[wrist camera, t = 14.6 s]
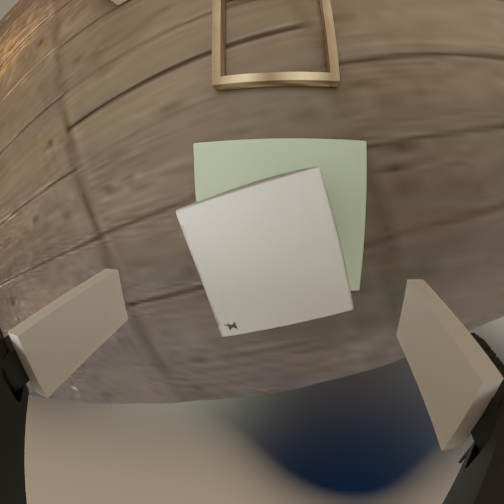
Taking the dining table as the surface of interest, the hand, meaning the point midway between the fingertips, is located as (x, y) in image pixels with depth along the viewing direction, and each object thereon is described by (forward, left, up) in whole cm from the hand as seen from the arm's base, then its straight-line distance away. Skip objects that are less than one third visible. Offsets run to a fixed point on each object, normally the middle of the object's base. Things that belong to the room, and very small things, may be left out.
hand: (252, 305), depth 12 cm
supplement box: (0, 0, -22) cm, 22 cm away
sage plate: (0, 0, -23) cm, 23 cm away
